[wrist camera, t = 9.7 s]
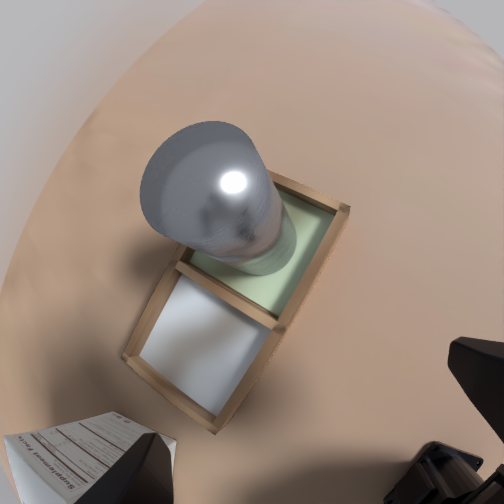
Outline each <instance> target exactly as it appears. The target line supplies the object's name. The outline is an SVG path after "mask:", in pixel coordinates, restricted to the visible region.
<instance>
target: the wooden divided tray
mask: <svg viewBox="0 0 504 504" xmlns="http://www.w3.org/2000/svg"><path fill="white" fill-rule="evenodd" d="M267 171H268V173H269V175H270V177H271V179H272V181H273V183H274V185H275V187H276V189H277V191H278V193H279V195H280V197H281V200H282V202H283V204H284V206H285V208H286V210H287V212H288V214H289V216H290V218H291V220H292V222H293V225H294V227H295V230H296V234H297V245H296V249H295V252H294V255H293V256H292V258H291V260H290V261H289V263H288V264H287V265H286V266H285V267H283V268H282V269H281V270H279V271H278V272H276V273H273V274H270V275H266V276H254V275H250V274H248V273H245V272H243V271H241V270H239V269H236V268H234V267H232V266H230V265H227V264H225V263H223V262H221V261H218V260H216V259H214V258H212V257H210V256H207V255H205V254H203V253H201V252H198V251H196V250H194V249H192V248H190V247H188V246H185V245H183V244H181V243H180V245H179V247H178V248H177V250H176V252H175V254H174V256H173V257H172V259H171V261H170V263H169V265H168V266H167V268H166V270H165V272H164V274H163V276H162V277H161V279H160V281H159V283H158V285H157V287H156V289H155V291H154V293H153V294H152V296H151V298H150V300H149V302H148V304H147V306H146V308H145V310H144V312H143V314H142V316H141V318H140V320H139V322H138V324H137V326H136V328H135V330H134V332H133V334H132V336H131V338H130V340H129V342H128V345H127V347H126V349H125V351H124V353H123V355H122V357H121V358H122V359H123V360H124V361H125V362H126V363H127V364H128V365H129V366H130V367H131V368H132V369H133V370H134V371H135V372H136V373H138V374H139V375H140V376H141V377H142V378H143V379H144V380H145V381H146V382H147V383H149V384H150V385H151V386H152V387H153V388H154V389H156V390H157V391H158V392H159V393H160V394H161V395H163V396H164V397H165V398H166V399H167V400H169V401H170V402H171V403H172V404H174V405H175V406H176V407H177V408H179V409H180V410H181V411H183V412H184V413H185V414H186V415H188V416H189V417H190V418H192V419H193V420H194V421H196V422H197V423H199V424H200V425H201V426H203V427H204V428H206V429H207V430H208V431H210V432H211V433H213V434H214V435H215V434H217V433H218V432H219V431H220V430H221V429H222V428H223V427H224V426H225V425H226V424H228V422H229V421H230V419H231V418H232V416H233V415H234V414H235V412H236V411H237V409H238V408H239V406H240V405H241V403H242V402H243V400H244V399H245V397H246V396H247V394H248V393H249V391H250V390H251V388H252V387H253V385H254V384H255V382H256V381H257V379H258V378H259V376H260V375H261V373H262V372H263V370H264V368H265V367H266V365H267V364H268V362H269V361H270V359H271V357H272V356H273V354H274V352H275V351H276V349H277V348H278V346H279V344H280V343H281V341H282V339H283V338H284V336H285V334H286V333H287V331H288V329H289V328H290V326H291V324H292V323H293V321H294V319H295V318H296V316H297V314H298V312H299V311H300V309H301V307H302V305H303V304H304V302H305V300H306V298H307V297H308V295H309V293H310V291H311V290H312V288H313V286H314V284H315V282H316V280H317V279H318V277H319V275H320V273H321V271H322V269H323V268H324V266H325V264H326V262H327V260H328V258H329V256H330V254H331V252H332V251H333V249H334V247H335V245H336V243H337V241H338V239H339V237H340V235H341V233H342V231H343V229H344V227H345V225H346V223H347V221H348V218H349V212H350V206H348V205H346V204H344V203H342V202H340V201H338V200H336V199H334V198H332V197H329V196H327V195H325V194H323V193H321V192H318V191H316V190H314V189H312V188H309V187H307V186H305V185H303V184H300V183H298V182H296V181H293V180H291V179H289V178H286V177H284V176H281V175H279V174H276V173H274V172H272V171H269V170H267Z"/></svg>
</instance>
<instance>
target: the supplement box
mask: <svg viewBox="0 0 504 504" xmlns="http://www.w3.org/2000/svg"><path fill="white" fill-rule="evenodd" d="M150 432H156V431H153V430H151V429H149V428H147V427H145V426H143V425H140V424H138V423H136V422H134V421H132V420H130V419H128V418H126V417H124V416H122V415H120V414H118V413H116V412H114V411H112V412H109V413H105V414H102V415H98V416H94V417H90V418H87V419H83V420H79V421H75V422H71V423H67V424H63V425H59V426H55V427H51V428H46V429H41V430H36V431H31V432H26V433H20V434H13V435H4V443H5V447H6V451H7V456H8V460H9V463H10V467H11V471H12V475H13V478H14V481H15V484H16V488H17V491H18V494H19V497H20V499H21V502H22V504H73V503H75V502H76V501H77V500H78V499H79V498H80V497H81V496H82V495H83V494H84V493H85V492H86V491H87V490H88V489H89V488H90V487H91V486H92V485H93V484H94V483H95V482H96V481H97V480H98V479H99V478H100V477H101V476H102V475H103V474H104V473H105V472H106V471H107V470H108V469H109V468H110V467H111V466H112V465H113V464H114V463H115V462H116V461H117V460H118V459H119V458H120V457H121V456H122V455H123V454H124V453H125V452H126V451H127V450H128V449H129V448H130V447H131V446H132V445H133V444H134V443H135V442H136V441H137V439H138V438H139V437H140V436H141V435H142V434H144V433H150ZM157 433H158V432H157ZM158 434H159V435H160V436H161V438H162V439H163V441H164V442H165V444H166V445H167V446H168V448H169V450H170V452H171V462H172V477H173V466H174V456H175V449H176V440H174V439H172V438H169V437H167V436H165V435H163V434H160V433H158Z"/></svg>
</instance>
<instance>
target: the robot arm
mask: <svg viewBox="0 0 504 504" xmlns="http://www.w3.org/2000/svg"><path fill="white" fill-rule="evenodd" d="M448 367H449V369H450V371H451V372H452V374H453V375H454V377H455V378H456V380H457V381H458V383H459V384H460V386H461V387H462V389H463V390H464V392H465V393H466V395H467V396H468V398H469V399H470V401H471V402H472V403H473V405H474V406H475V407H476V408H477V410H478V411H479V412H480V413H481V415H482V416H483V417H484V418H485V420H486V421H487V422H488V423H489V425H490V426H491V427H492V429H493V430H494V431H495V432H496V434H497V435H498V436H499V438H500V439H501V440H502V442H503V443H504V342H496V341H489V340H482V339H475V338H468V337H459V338H457V339H455V340H453V341H452V342H451V344H450V347H449V355H448ZM436 446H438V447H437V448H436V449H435V450H433V449H434V448H435V447H436ZM478 462H479V463H478ZM477 463H478V464H477ZM482 464H483V459H482V458H481V457H479V456H476V455H473V454H470V453H467V452H465V451H462V450H459V449H456V448H454V447H451V446H448V445H446V444H443V443H441V442H434V443H432V444H431V445H430V446H429V448H428V449H427V450H426V452H425V453H424V454H423V456H422V457H421V458H420V459H419V461H418V462H417V463H415V464H414V465H413V467H412V468H411V469H410V470H409V471H408V472H407V473H406V475H405V476H404V477H403V478H402V479H401V480H400V481H399V482H398V484H397V485H396V486H395V488H394V489H393V490H392V491H391V492H390V493H389V494H388V495H387V496H386V497H385V498H384V500H383V501H384V504H504V464H501V465H500V466H499V467H498V468H497V469H496V471H495V472H494V473H493V474H492V475H491V476H490V477H489V478H488V479H487V480H486V481H485V482H484V480H483V479H482V478H481V477H480V476H479V475H478V474H477V473H476V472H477V471H478V469H479V468H480V467H481V465H482ZM391 499H392V500H391ZM388 500H391V501H388ZM173 502H174V495H173V479H172V462H171V452H170V450H169V448H168V446H167V445H166V444H165V442H164V441H163V439H162V438H161V436H160V435H159V434H158V433H157V432H150V433H144V434H142V435H141V436H140V437H139V438H138V439H137V441H136V442H135V443H134V444H133V445H132V446H131V447H130V448H129V449H128V450H127V451H126V452H125V453H124V454H123V455H122V456H121V457H120V458H119V459H118V460H117V461H116V462H115V463H114V464H113V465H112V466H111V467H110V468H109V469H108V470H107V471H106V472H105V473H104V474H103V475H102V476H101V477H100V478H99V479H98V480H97V481H96V482H95V483H94V484H93V485H92V486H91V487H90V488H89V489H88V490H87V491H86V492H85V493H84V494H83V495H82V496H81V497H80V498H79V499H78V500H77V501H76V502H75V503H73V504H173Z"/></svg>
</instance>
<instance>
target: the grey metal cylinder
mask: <svg viewBox="0 0 504 504" xmlns="http://www.w3.org/2000/svg"><path fill="white" fill-rule="evenodd" d="M140 203H141V208H142V211H143V214H144V216H145V218H146V220H147V222H148V223H149V224H150V225H151V227H152V228H154V229H155V230H156V231H157V232H159V233H160V234H162V235H164V236H166V237H168V238H170V239H172V240H174V241H177V242H179V243H181V244H183V245H185V246H188V247H190V248H192V249H194V250H196V251H198V252H201V253H203V254H205V255H207V256H210V257H212V258H214V259H216V260H218V261H221V262H223V263H225V264H227V265H230V266H232V267H234V268H236V269H239V270H241V271H243V272H245V273H248V274H250V275H254V276H266V275H270V274H273V273H276V272H278V271H279V270H281V269H282V268H283V267H285V266H286V265H287V264H288V263H289V261H290V260H291V258H292V256H293V255H294V252H295V249H296V245H297V234H296V230H295V227H294V225H293V222H292V220H291V218H290V216H289V214H288V212H287V210H286V208H285V206H284V204H283V202H282V200H281V197H280V195H279V193H278V191H277V189H276V187H275V185H274V183H273V181H272V179H271V177H270V175H269V173H268V171H267V169H266V167H265V165H264V163H263V161H262V159H261V158H260V156H259V154H258V152H257V150H256V148H255V146H254V144H253V142H252V140H251V139H250V138H249V136H248V135H247V134H246V133H245V132H244V131H243V130H241V129H240V128H238V127H236V126H234V125H232V124H229V123H226V122H220V121H207V122H200V123H196V124H193V125H190V126H188V127H186V128H183V129H182V130H180V131H178V132H176V133H175V134H173V135H172V136H171V137H169V138H168V139H167V140H166V141H165V142H164V143H163V144H162V145H161V146H160V147H159V148H158V149H157V150H156V152H155V153H154V154H153V156H152V157H151V159H150V161H149V162H148V164H147V166H146V169H145V171H144V174H143V177H142V181H141V186H140Z"/></svg>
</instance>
